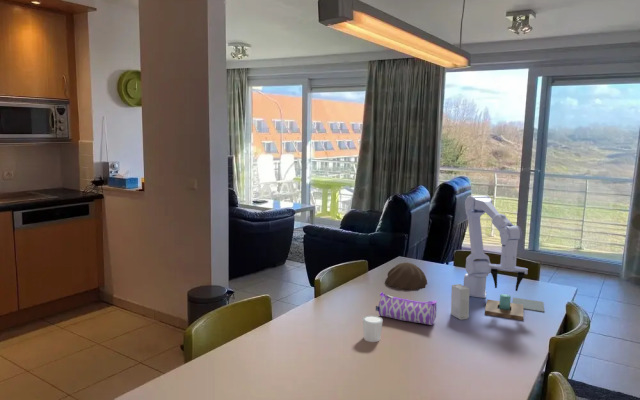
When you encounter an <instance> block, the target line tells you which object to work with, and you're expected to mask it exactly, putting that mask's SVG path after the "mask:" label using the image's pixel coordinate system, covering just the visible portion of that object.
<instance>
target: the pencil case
mask: <svg viewBox="0 0 640 400" xmlns="http://www.w3.org/2000/svg"><path fill="white" fill-rule="evenodd" d="M379 297H380V300H379V301H378V305H376V306H375V312H378V315H379V317H386V318H392V319H395V320H398V321H405V322H406V321H407V322H411V323H419V324H423V325H429V326H432V325H434V323H435V321H436V318H437V303H438V301H437V300H430V301H419V300H412V299H407V298H402V297H401V298H400V297H397V296H393V295H392V296H391V295H390V294H388V293H384V291H381V292H380V293H379Z"/></svg>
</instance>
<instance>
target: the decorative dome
mask: <svg viewBox="0 0 640 400" xmlns="http://www.w3.org/2000/svg"><path fill="white" fill-rule="evenodd" d="M384 282H385V284H388V286H389V287H393V288H397V289H400V290H412V291H415V290H419V289H425V288H426V285H428V280H427V277H426V275H425V273H424V272H423V269H421V268H420V266H419V267H418V265H416V264H414V263H410V262H401V263H398V264H396V265H395V266H394V267H392V268H391V269H390V270H389V271H388V272H387V277H386V279H385V281H384Z"/></svg>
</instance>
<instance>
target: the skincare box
mask: <svg viewBox="0 0 640 400" xmlns="http://www.w3.org/2000/svg"><path fill="white" fill-rule="evenodd" d="M469 291H470V289H469V288H467V287H465V286H464V284H460V283H458V284H452V285H451V296H450V297H451V298H450V299H451V300H450V307H451V308H450V315H452V316H454V317H455V318H456V319H459V320H460V321H461V320H468V319H469V317H470V316H469V314H470V311H469V310H470V296H469Z"/></svg>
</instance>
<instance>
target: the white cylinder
mask: <svg viewBox="0 0 640 400" xmlns="http://www.w3.org/2000/svg"><path fill="white" fill-rule="evenodd" d="M383 321H384V320H383V318H382V317H381V316H377V315H366V316H363V317H362V328H363V329H362V330H363V340H364V341H366V342H370V343H377V342H379V341H381V336H382V329H383Z"/></svg>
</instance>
